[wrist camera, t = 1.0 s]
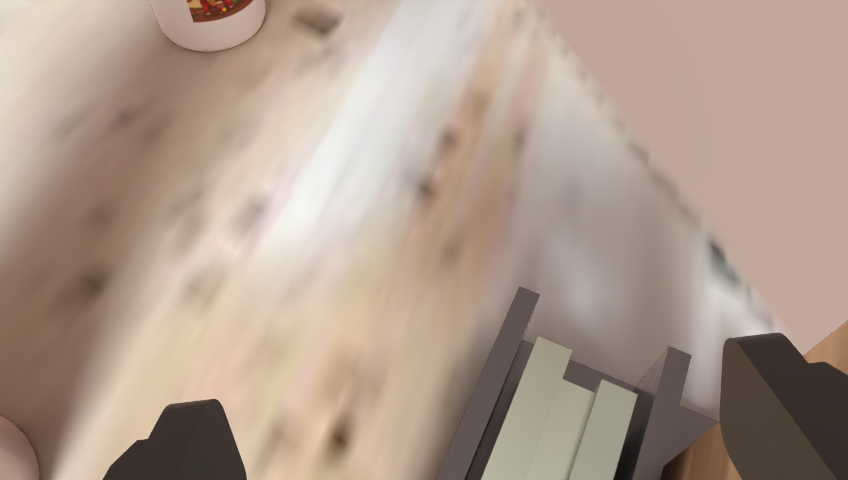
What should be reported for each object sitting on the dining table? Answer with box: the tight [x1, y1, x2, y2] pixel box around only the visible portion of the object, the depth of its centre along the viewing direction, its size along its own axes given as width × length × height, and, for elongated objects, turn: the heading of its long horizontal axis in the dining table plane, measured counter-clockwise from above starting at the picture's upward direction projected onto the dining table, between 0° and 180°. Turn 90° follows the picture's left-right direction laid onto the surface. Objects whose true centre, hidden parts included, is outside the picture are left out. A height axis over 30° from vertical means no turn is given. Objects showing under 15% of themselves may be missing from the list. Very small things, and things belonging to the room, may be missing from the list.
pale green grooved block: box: [481, 336, 638, 480], centre depth 29 cm, size 5×10×5 cm, turn 156°
